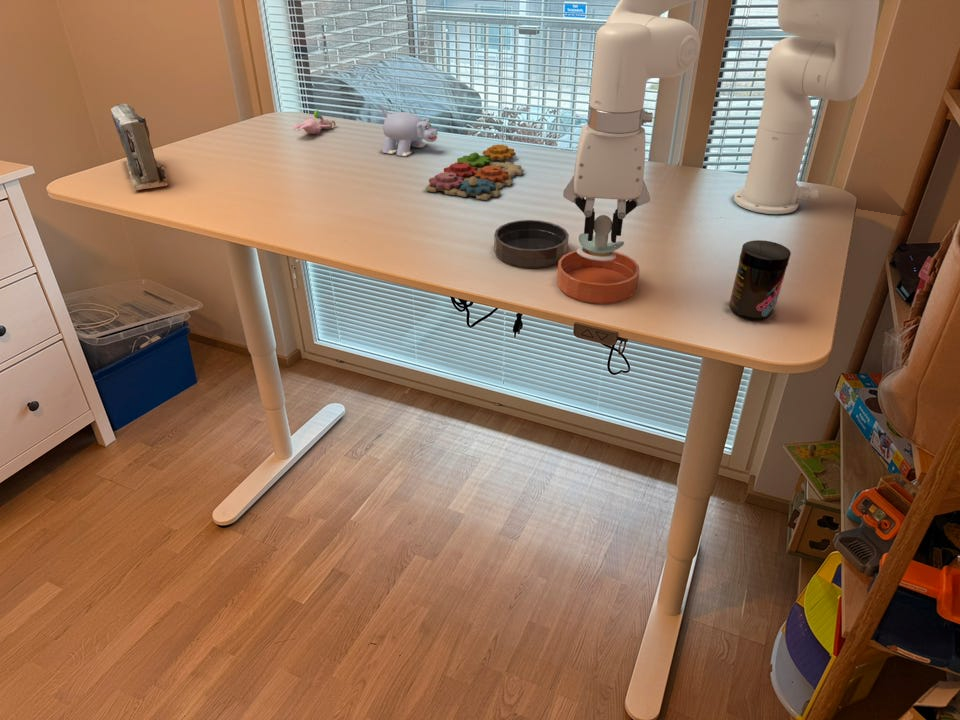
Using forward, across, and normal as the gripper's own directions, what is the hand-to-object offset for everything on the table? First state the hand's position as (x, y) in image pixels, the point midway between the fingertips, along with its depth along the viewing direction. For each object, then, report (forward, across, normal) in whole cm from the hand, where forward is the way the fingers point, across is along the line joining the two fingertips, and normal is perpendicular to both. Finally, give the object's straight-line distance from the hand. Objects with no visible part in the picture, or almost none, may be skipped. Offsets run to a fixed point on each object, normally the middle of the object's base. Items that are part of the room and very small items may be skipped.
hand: (601, 237), depth 109 cm
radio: (+9, +102, -38) cm, 109 cm away
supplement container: (+9, -24, +5) cm, 26 cm away
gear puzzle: (+9, +25, -50) cm, 57 cm away
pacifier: (+3, 0, 0) cm, 3 cm away
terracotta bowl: (+8, 0, 0) cm, 8 cm away
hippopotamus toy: (+9, +46, -65) cm, 80 cm away
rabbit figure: (+9, +74, -75) cm, 106 cm away
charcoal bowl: (+8, +12, -11) cm, 18 cm away
